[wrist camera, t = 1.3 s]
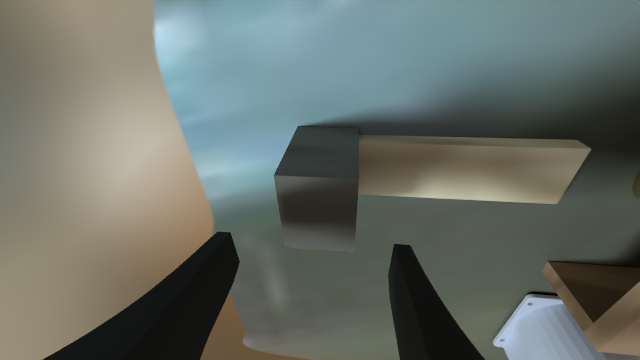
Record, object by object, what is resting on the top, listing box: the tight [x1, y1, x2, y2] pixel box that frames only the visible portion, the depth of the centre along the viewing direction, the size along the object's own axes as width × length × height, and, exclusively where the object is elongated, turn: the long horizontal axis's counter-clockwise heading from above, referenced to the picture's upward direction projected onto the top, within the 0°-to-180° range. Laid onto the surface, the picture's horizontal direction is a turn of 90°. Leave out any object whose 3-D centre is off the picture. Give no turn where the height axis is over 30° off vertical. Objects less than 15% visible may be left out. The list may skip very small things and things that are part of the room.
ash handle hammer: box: [274, 126, 591, 252], centre depth 15 cm, size 5×17×6 cm, turn 92°
